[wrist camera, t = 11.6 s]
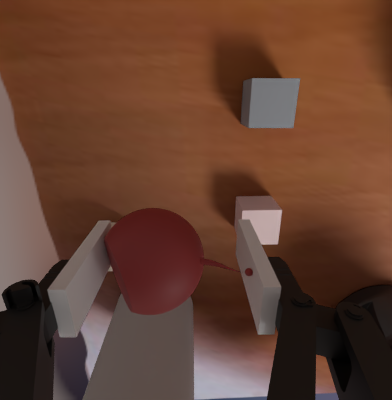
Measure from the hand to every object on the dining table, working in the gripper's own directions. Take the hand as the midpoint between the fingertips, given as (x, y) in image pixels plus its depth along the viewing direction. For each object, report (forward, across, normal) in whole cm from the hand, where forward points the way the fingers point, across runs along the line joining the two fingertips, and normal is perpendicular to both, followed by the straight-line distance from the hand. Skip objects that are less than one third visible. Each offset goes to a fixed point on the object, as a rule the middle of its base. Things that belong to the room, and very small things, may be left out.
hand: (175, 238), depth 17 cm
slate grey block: (+19, -10, -8) cm, 23 cm away
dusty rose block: (+19, -10, +7) cm, 23 cm away
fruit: (+1, 0, 0) cm, 1 cm away
